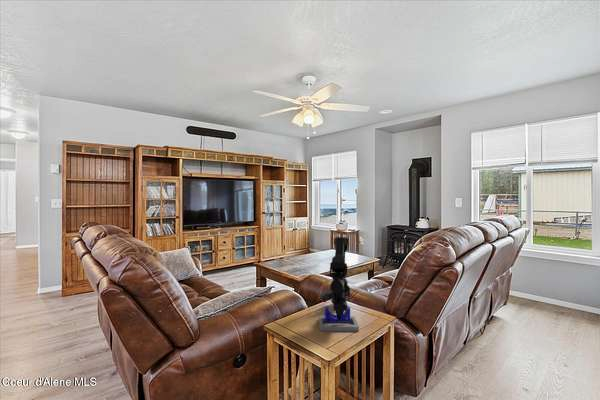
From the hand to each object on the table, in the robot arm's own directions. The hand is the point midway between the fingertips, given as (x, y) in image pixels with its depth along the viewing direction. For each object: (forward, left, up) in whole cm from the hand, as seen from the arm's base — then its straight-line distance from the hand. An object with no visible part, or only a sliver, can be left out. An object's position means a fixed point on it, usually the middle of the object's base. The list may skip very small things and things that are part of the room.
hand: (338, 318), depth 142 cm
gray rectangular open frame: (0, 0, -4) cm, 4 cm away
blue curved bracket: (0, 0, -1) cm, 1 cm away
